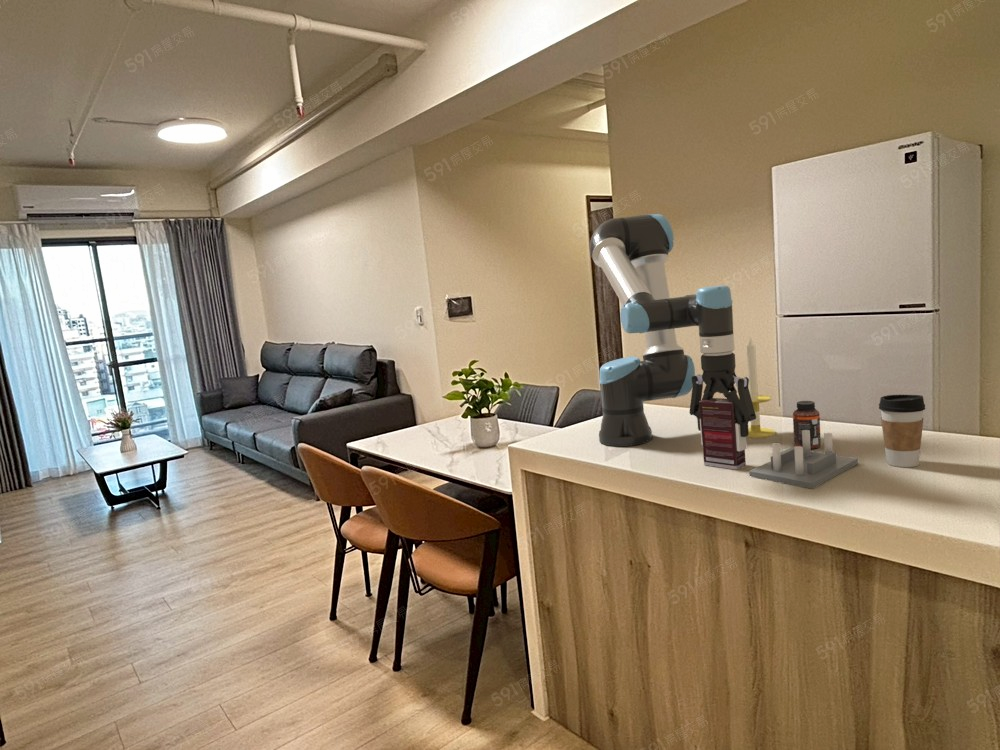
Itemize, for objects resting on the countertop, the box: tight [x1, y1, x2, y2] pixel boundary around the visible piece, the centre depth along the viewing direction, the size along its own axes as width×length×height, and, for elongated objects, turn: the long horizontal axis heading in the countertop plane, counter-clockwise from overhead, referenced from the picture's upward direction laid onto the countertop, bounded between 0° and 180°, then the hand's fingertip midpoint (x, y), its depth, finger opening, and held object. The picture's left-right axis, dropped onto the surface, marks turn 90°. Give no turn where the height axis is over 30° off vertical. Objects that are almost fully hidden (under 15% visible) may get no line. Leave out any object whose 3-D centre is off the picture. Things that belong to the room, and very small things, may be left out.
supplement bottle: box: [792, 400, 822, 450], centre depth 152 cm, size 6×6×11 cm
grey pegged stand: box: [748, 430, 859, 490], centre depth 136 cm, size 14×20×7 cm
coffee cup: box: [878, 394, 926, 468], centre depth 132 cm, size 8×8×15 cm
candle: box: [738, 336, 776, 439], centre depth 167 cm, size 10×10×27 cm
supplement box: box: [699, 397, 747, 470], centre depth 145 cm, size 9×5×16 cm, turn 43°
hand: (723, 446), depth 145 cm, fingers closed on supplement box, 9 cm apart
